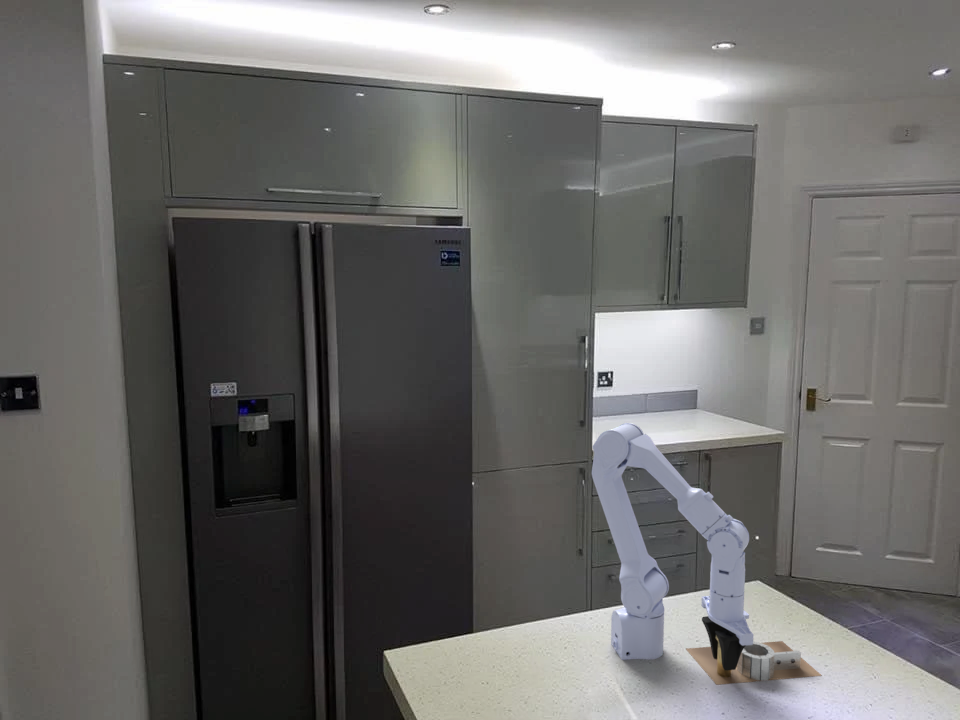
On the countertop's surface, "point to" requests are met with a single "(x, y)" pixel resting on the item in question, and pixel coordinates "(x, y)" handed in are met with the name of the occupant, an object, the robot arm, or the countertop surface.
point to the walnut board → (710, 667)
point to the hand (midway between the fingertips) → (724, 663)
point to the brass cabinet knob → (720, 669)
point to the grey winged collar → (765, 661)
